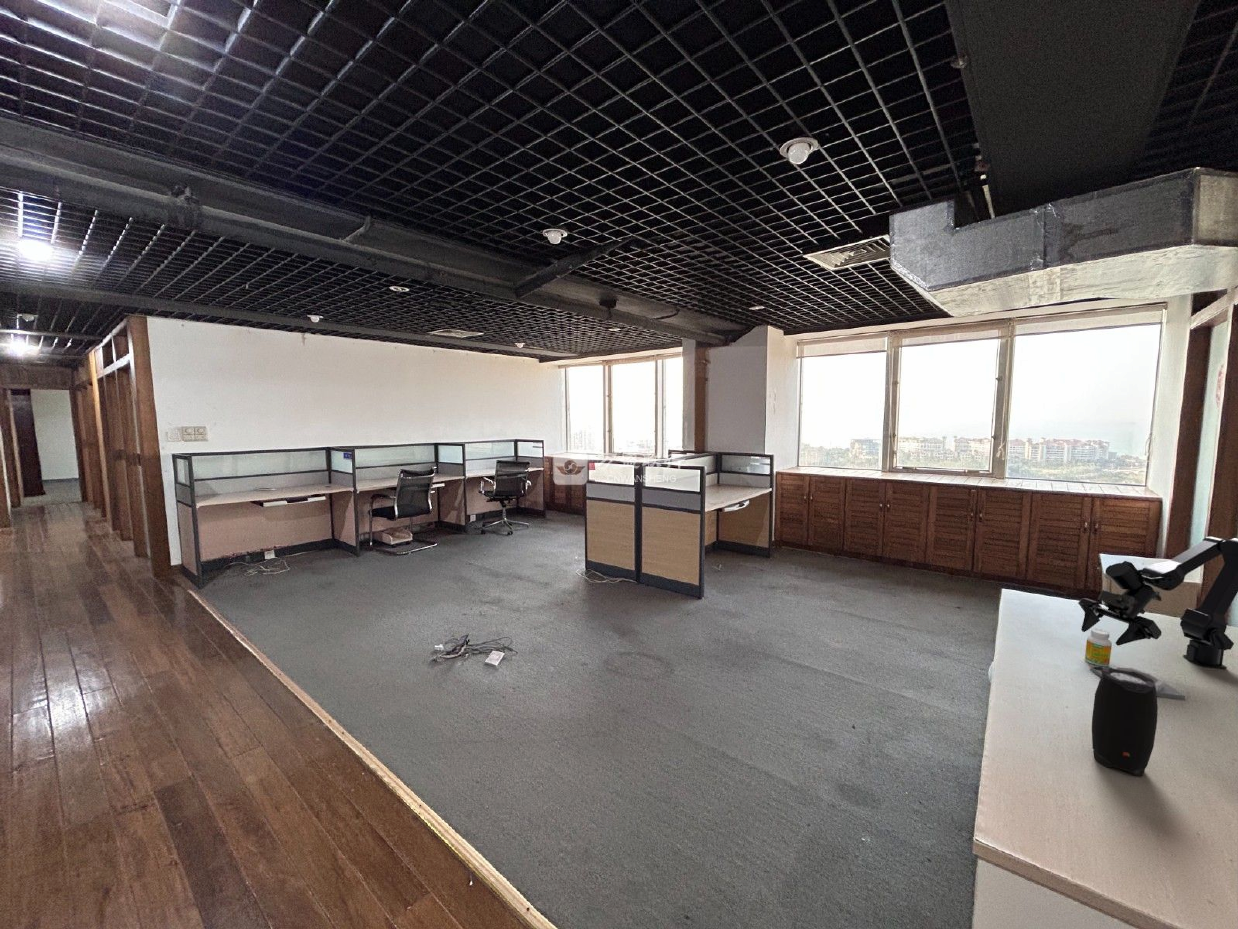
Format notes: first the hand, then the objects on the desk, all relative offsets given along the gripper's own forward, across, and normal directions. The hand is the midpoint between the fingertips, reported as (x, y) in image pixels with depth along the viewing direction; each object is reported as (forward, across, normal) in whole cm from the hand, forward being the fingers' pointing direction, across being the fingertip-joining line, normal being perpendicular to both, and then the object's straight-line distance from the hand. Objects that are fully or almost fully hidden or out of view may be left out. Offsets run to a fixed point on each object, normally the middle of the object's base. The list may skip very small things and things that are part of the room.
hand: (1099, 637), depth 149 cm
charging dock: (+8, +12, +4) cm, 14 cm away
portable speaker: (+38, +38, -26) cm, 59 cm away
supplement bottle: (+6, 0, +6) cm, 8 cm away
